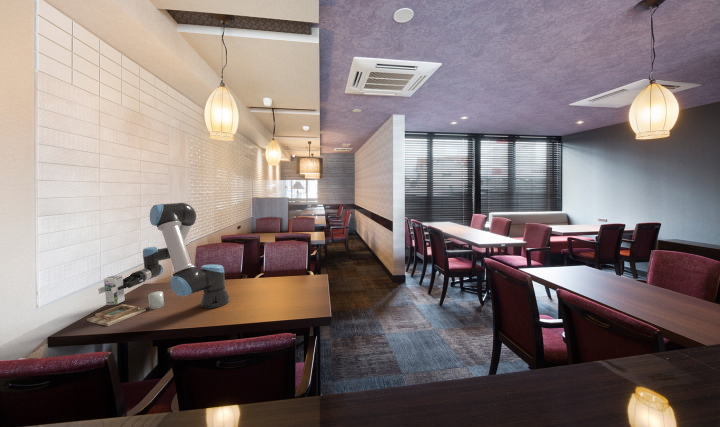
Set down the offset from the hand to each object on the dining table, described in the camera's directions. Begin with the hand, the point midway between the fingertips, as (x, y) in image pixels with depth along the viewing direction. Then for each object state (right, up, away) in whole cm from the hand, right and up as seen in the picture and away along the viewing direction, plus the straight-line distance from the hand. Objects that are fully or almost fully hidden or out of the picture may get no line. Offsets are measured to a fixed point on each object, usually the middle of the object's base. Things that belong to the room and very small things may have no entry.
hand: (105, 291), depth 147 cm
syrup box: (0, -8, +6) cm, 10 cm away
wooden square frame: (+1, -15, +7) cm, 17 cm away
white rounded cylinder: (+14, -14, +18) cm, 27 cm away
